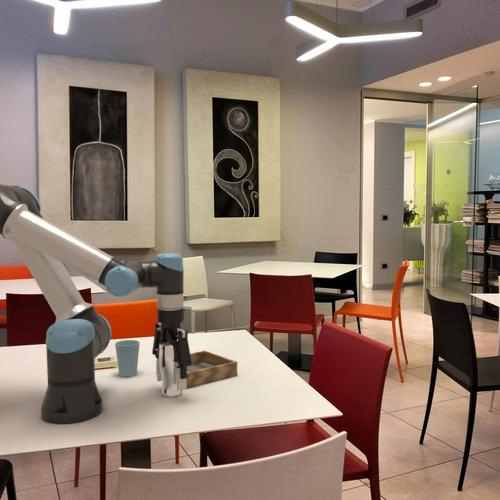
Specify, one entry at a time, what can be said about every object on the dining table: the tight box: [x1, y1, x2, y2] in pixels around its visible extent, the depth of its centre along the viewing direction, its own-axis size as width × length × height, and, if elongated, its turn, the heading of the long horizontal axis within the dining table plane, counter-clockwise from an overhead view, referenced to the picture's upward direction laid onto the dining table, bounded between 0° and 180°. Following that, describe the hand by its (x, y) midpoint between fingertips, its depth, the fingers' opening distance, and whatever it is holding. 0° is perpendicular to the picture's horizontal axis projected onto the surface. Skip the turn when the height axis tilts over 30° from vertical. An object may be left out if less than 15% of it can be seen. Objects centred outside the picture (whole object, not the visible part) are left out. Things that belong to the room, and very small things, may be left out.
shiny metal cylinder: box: [159, 341, 183, 399], centre depth 148 cm, size 7×7×15 cm
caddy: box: [155, 350, 238, 390], centre depth 166 cm, size 19×18×4 cm
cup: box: [114, 339, 141, 378], centre depth 166 cm, size 8×8×10 cm
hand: (171, 384), depth 148 cm, fingers open, 10 cm apart
